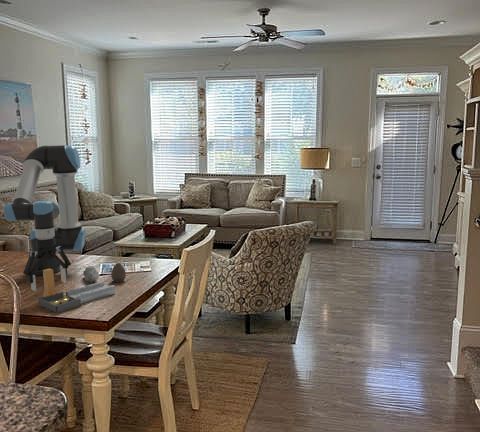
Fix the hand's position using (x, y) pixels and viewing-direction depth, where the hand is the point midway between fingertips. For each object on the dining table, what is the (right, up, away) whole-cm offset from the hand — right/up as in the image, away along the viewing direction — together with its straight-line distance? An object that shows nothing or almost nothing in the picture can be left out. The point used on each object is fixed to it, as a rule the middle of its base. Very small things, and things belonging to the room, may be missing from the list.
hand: (49, 286), depth 203 cm
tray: (+7, -7, -7) cm, 12 cm away
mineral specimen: (+10, -1, +27) cm, 29 cm away
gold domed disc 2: (+9, -6, -6) cm, 12 cm away
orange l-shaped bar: (0, -6, +1) cm, 6 cm away
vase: (+23, -1, +25) cm, 35 cm away
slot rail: (+17, -5, +4) cm, 18 cm away
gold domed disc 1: (+6, -7, -9) cm, 13 cm away
